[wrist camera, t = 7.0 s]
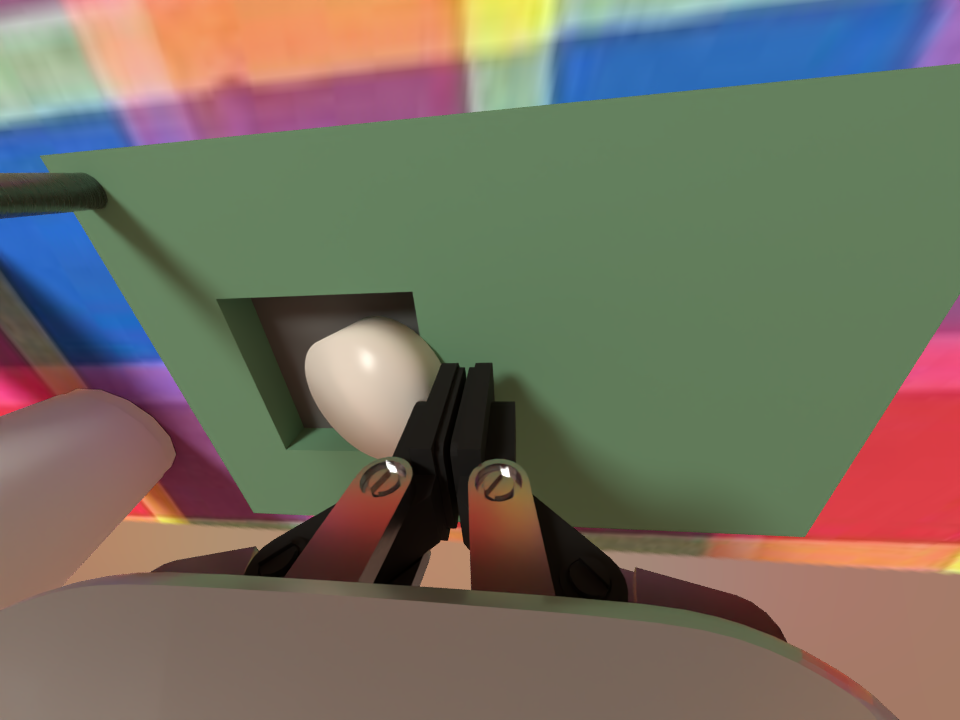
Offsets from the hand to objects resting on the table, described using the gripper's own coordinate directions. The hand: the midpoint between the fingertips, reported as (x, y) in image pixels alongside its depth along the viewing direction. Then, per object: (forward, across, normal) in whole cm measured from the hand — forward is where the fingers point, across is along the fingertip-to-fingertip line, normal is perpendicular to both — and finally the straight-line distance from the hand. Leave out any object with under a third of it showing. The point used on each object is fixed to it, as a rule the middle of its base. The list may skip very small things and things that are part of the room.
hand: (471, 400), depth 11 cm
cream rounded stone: (+2, +3, 0) cm, 4 cm away
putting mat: (+4, +1, 0) cm, 4 cm away
